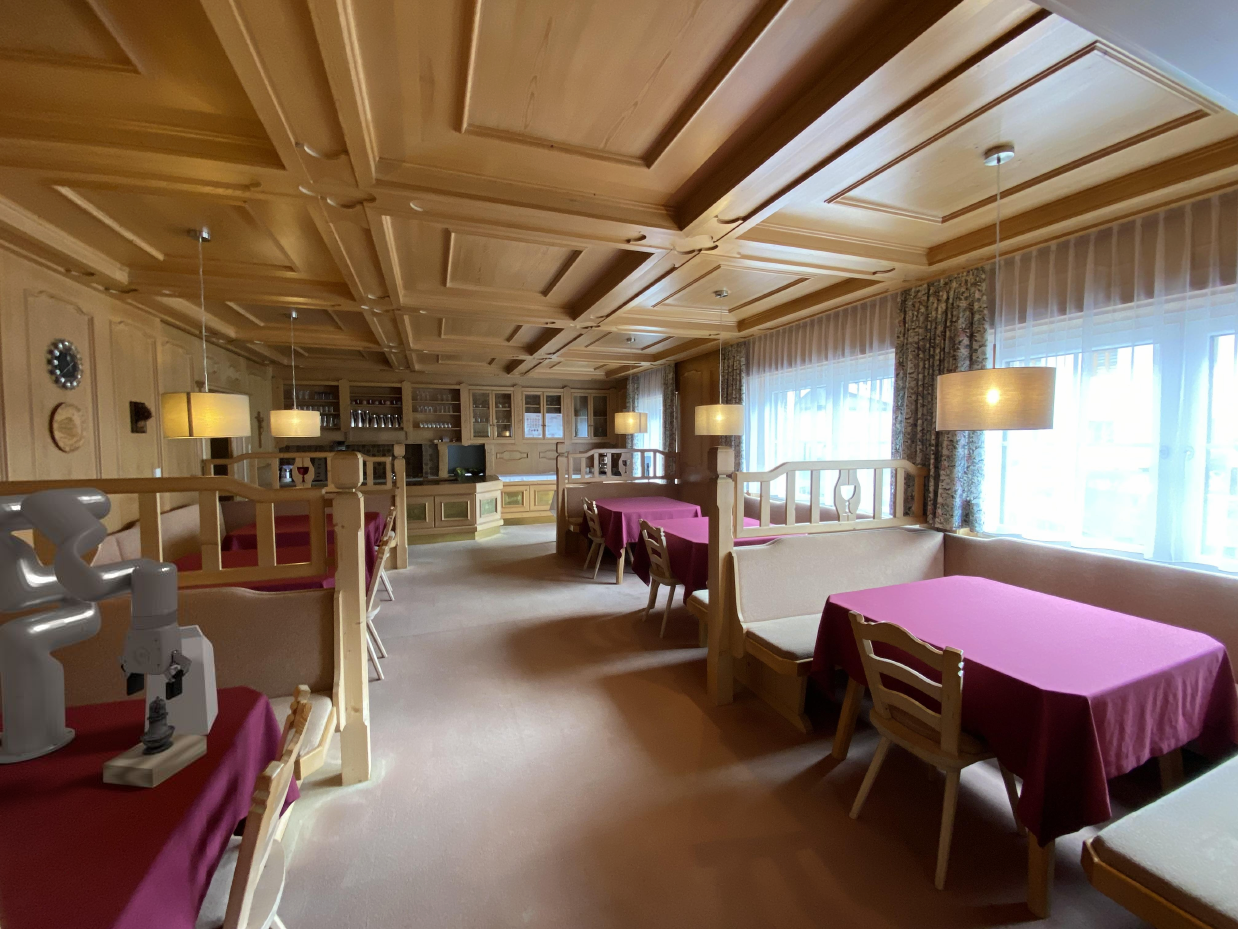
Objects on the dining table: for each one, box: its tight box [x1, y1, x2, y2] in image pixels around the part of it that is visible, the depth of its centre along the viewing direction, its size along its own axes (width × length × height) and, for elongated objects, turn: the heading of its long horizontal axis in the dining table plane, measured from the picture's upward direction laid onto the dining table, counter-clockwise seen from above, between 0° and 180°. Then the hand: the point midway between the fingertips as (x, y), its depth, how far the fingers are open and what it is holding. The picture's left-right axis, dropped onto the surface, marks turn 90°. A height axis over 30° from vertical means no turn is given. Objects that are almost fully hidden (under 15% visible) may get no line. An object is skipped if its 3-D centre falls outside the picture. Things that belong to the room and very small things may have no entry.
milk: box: [144, 624, 219, 736], centre depth 126 cm, size 12×12×26 cm
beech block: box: [102, 733, 208, 789], centre depth 111 cm, size 12×12×4 cm
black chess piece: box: [139, 696, 176, 755], centre depth 112 cm, size 6×6×12 cm
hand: (154, 694), depth 111 cm, fingers open, 9 cm apart
